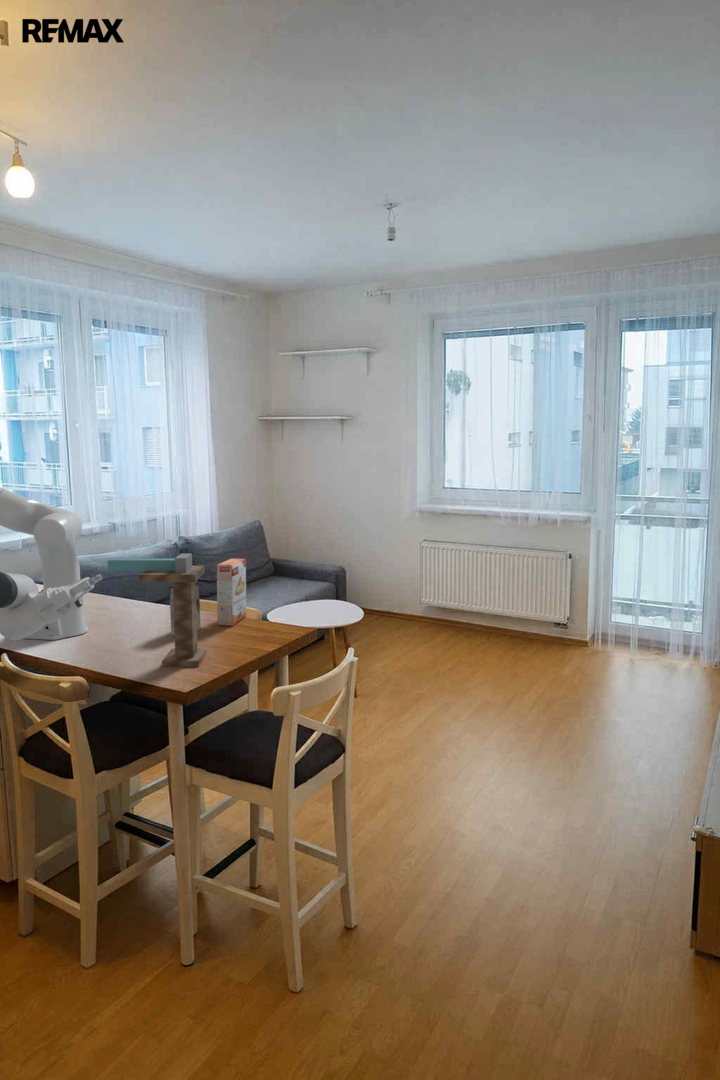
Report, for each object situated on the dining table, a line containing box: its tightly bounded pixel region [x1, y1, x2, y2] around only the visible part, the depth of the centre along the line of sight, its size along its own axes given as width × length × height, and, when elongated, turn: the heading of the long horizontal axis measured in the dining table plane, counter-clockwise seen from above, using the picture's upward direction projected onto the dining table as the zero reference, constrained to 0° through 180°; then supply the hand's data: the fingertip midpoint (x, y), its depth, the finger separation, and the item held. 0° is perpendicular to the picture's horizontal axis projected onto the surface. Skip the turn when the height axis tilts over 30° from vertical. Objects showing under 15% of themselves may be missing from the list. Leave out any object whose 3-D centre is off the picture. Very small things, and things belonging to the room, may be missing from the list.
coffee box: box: [168, 581, 202, 636], centre depth 235 cm, size 9×6×16 cm
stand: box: [138, 565, 207, 668], centre depth 205 cm, size 15×14×26 cm
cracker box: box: [216, 558, 247, 627], centre depth 249 cm, size 14×6×21 cm, turn 170°
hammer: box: [107, 553, 193, 573], centre depth 203 cm, size 22×8×4 cm, turn 91°
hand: (94, 579), depth 203 cm, fingers open, 8 cm apart
